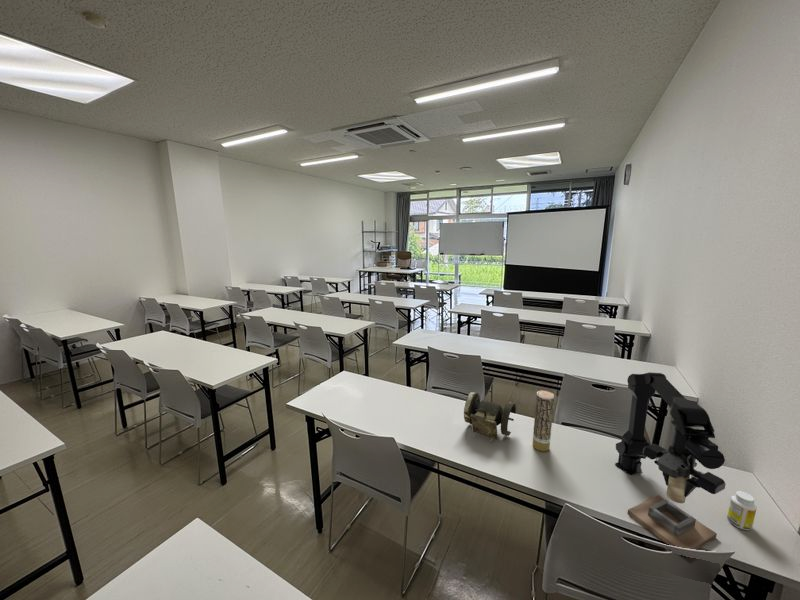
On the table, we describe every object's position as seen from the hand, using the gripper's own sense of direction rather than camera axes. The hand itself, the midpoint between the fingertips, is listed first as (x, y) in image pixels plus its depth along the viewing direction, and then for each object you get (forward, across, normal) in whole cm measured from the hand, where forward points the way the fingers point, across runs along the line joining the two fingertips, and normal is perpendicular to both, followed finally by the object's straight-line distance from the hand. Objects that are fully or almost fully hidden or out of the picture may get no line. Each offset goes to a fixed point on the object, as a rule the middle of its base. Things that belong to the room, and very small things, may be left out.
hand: (676, 490), depth 99 cm
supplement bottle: (+13, +8, +21) cm, 26 cm away
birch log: (+13, -45, -8) cm, 48 cm away
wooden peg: (+2, 0, 0) cm, 3 cm away
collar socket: (+13, 0, 0) cm, 13 cm away
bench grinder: (+13, -63, -23) cm, 68 cm away
